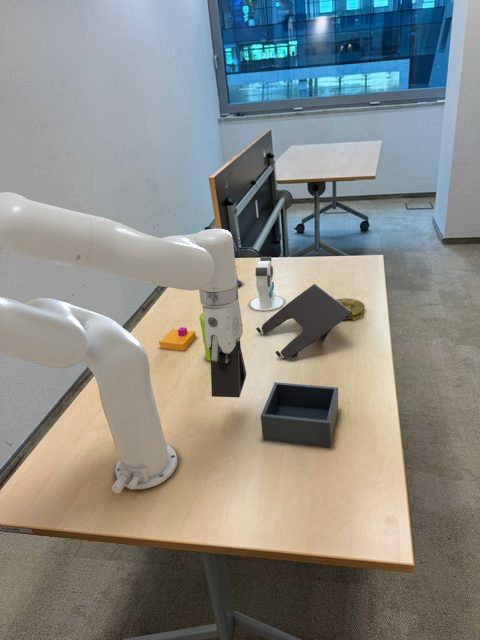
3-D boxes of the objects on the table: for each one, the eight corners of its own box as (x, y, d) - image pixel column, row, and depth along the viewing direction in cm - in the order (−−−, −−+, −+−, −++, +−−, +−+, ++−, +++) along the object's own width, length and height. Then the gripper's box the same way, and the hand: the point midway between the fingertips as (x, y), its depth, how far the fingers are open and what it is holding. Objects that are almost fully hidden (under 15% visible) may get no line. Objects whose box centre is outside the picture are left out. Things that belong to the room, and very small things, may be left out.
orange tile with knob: (184, 350, 139) (181, 338, 137) (160, 348, 142) (157, 335, 140) (196, 337, 146) (194, 325, 144) (173, 335, 148) (170, 323, 146)
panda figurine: (281, 311, 156) (277, 268, 149) (247, 311, 158) (242, 269, 151) (285, 296, 166) (282, 255, 159) (253, 296, 168) (249, 256, 161)
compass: (324, 321, 148) (324, 314, 147) (327, 304, 158) (327, 298, 157) (364, 321, 146) (364, 315, 145) (364, 304, 156) (364, 298, 155)
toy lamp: (227, 287, 178) (221, 244, 169) (231, 282, 182) (226, 239, 173) (239, 287, 176) (234, 244, 168) (243, 282, 180) (238, 239, 172)
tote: (330, 447, 99) (330, 423, 96) (263, 440, 103) (260, 416, 100) (338, 410, 110) (338, 387, 106) (276, 404, 114) (274, 382, 110)
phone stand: (221, 374, 109) (215, 327, 103) (246, 374, 108) (242, 328, 102) (211, 397, 101) (204, 348, 95) (239, 398, 100) (233, 349, 94)
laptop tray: (266, 343, 151) (251, 323, 145) (324, 299, 151) (311, 278, 146) (296, 380, 132) (280, 359, 127) (362, 330, 132) (349, 306, 127)
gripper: (223, 312, 86) (232, 395, 95) (248, 279, 100) (255, 355, 109) (185, 310, 88) (197, 392, 97) (215, 277, 102) (224, 352, 111)
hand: (228, 371), depth 103 cm, fingers closed on phone stand, 2 cm apart
